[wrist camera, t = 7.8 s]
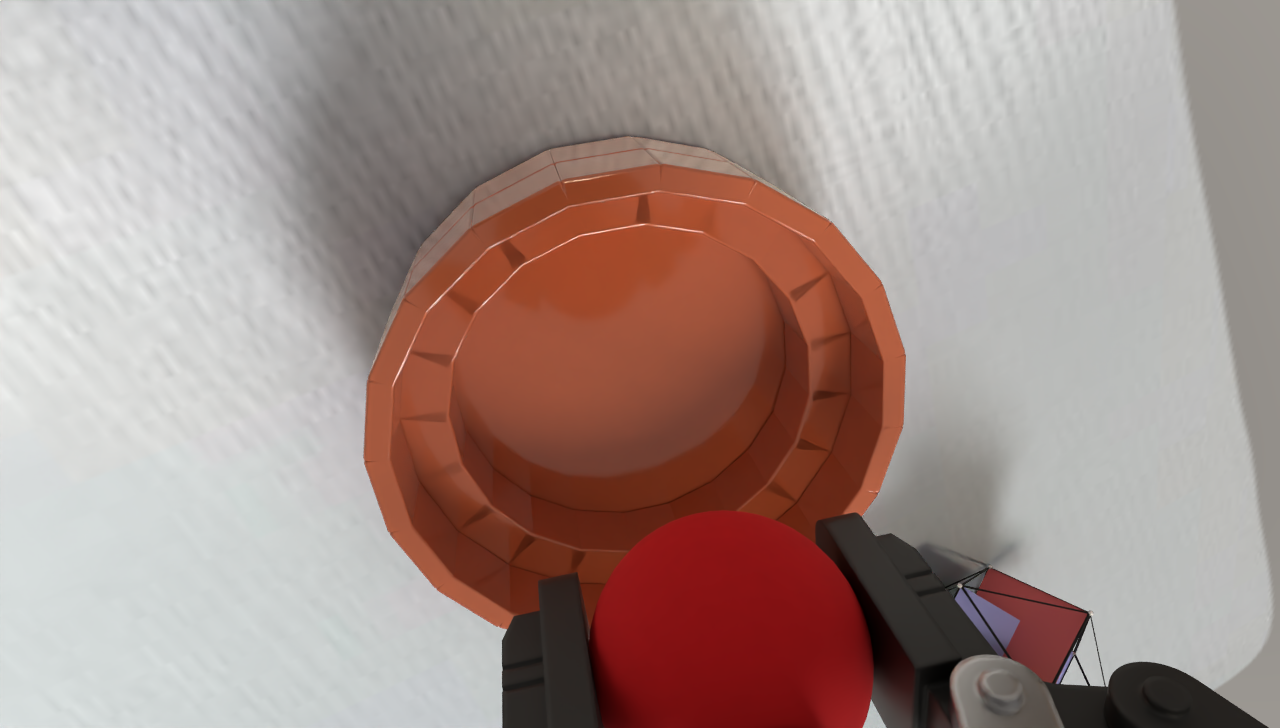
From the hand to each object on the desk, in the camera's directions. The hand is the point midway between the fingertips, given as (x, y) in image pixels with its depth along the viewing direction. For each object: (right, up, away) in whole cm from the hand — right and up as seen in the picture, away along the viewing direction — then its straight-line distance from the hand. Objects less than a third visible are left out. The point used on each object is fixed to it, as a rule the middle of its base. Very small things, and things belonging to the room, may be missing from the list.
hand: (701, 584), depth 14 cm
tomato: (0, 0, +1) cm, 1 cm away
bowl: (-2, +4, +8) cm, 10 cm away
